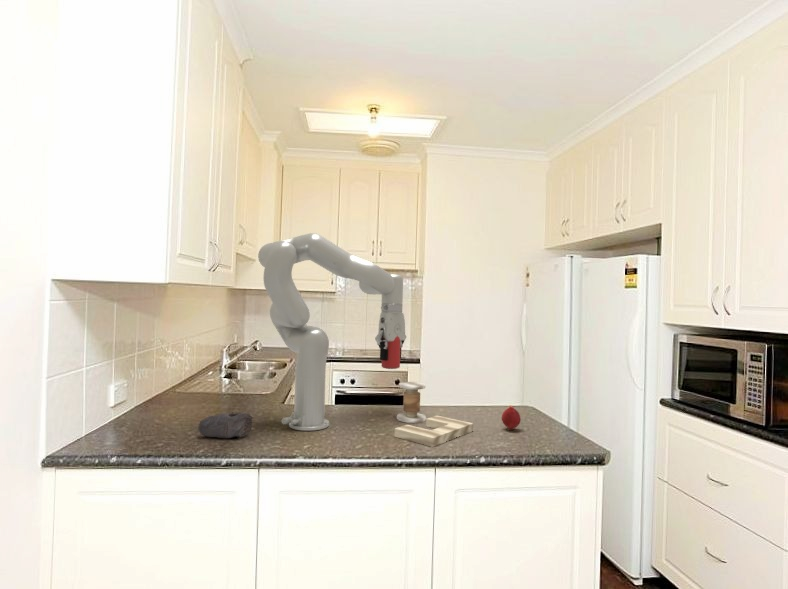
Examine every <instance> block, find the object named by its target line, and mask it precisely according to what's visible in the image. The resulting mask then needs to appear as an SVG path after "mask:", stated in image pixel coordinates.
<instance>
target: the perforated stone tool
mask: <svg viewBox="0 0 788 589" xmlns="http://www.w3.org/2000/svg"><path fill="white" fill-rule="evenodd" d="M252 418H253V416H252V415H251V414H250V413H239V412H238V413H233V412H232V413H231V412H230V413H221V414H219V413H218V414H215V415H214V414H213V415H209V416H207V417H204V418H203V419H202V420H200V421H199V423H198V428H197V430H198V432H199V433H200V434H201V435H203V436H204V437H207V438H217V439H231V438H234V437H236V438H238V439H239V438H243V437H244V436H246V435H248V434H249V432H250V431H251V429H252V427H253V426H252V424H253V421H252V420H253V419H252Z"/></svg>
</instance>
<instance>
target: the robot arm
mask: <svg viewBox="0 0 788 589" xmlns="http://www.w3.org/2000/svg"><path fill="white" fill-rule="evenodd" d="M257 259H258V262H259V264H260V265H261V266H262V268H264V271H263V285H264V288H265V291H266V293H267V295H268V297H269V298H270V301H271V302H272V304H271V305H270V308H269V317H270V320H271V322H272V324H273V325H274V326H273V327H274V328H275V329H276V331H277V333H278V334H279V336H280V338H281V339H282V341H283V342H284V344H285V345H286V347H287V348H288V349H289V350H290V351H291V352H293V353H295V354H298V355H297V359H296V363H295V370H294V373H295V374H294V375H295V376H294V378H295V379H294V411H292V412H291V415H289V416H288V417H287V416H286V417H282V419H281V424H282V425H288V426H289V428H290V429H293V430H294V431H295V430H296V431H304V432H305V431H306V432H307V431H308V432H309V431H311V432H312V431H320V430H324V429H326V428H328V427H329V426H330V420H328V419H326V418H325V413H326V412H325V410H326V409H325V408H326V407H325V406H326V405H325V404H326V374H327V373H326V371H327V370H326V369H327V368H326V367H327V359H328V358H327V357H328V352H329V348H330V347H329V346H330V339H329V336H328V335H327V333H326V331H325V330H324V329H322V328H320V327H319V326H313V325H307V324H308V323H309V320H310V316H311V314H310V309H309V307H308V306H307V304H306V302H305V300H304V298H303V297H302V295H301V293H300V292H299V290H298V288H297V286H296V284H295V282H294V279H293V275H292V272H293V268H294V264H298V263H301V262H304V261H311V262H313V263H315V264H316V265H318V266H319V267H322V268H323V269H325V270H326V271H329V272H330V273H332V274H333V275H336V276H338V277H340V278H344V279H350V280H354V281H357V282H358V286H359V289H360V291H362V292H363V293H364V294H367V295H381V306H380V309H381V311H380V315H379V319H378V320H379V321H378V332H377V335H376V336H375V338H374V339H375V342H376V344H377V346H378V348H379V349H380V350H379V360H380V361H382V360H384V361H387V360H388V349H387V346H388V342H392V341H394V339H395V337H397V336H398V337H399V338H400V341H401V343H400V360H402V348H403V344H404V343H405V340H406V339H407V335H406V321H405V314H404V312H403V307H404V306H403V304H404V301H403V299H404V297H403V296H404V277H403V275H401V274H395V273H394V274H391V273H389V272H388V271H386V270H385V269H384V268H382V267H381V266H379V265H377V264H376V263H373V262H371V261H369V260H367V259H364V258H361V257H359V256H357V255H354V254H352V253H350V252H348V251H346V250H345V249H343V248H342V247H340V246H338V245H337V244H335V243H333V242H332V241H330V240H328V239H327V238H326V237H324V236H322V235H320V234H318V233H315V232H312V233H311V232H310V233H306V234H302V235H301V234H300V235H297V236H294V237H291V238H287V239H283V240H278V241H272V242H268V243H266V244H264V245H262V246H261V248H260V249H259V250H258V254H257ZM384 338H385V340H383V339H384ZM383 342H385V345H384V343H383Z"/></svg>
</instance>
